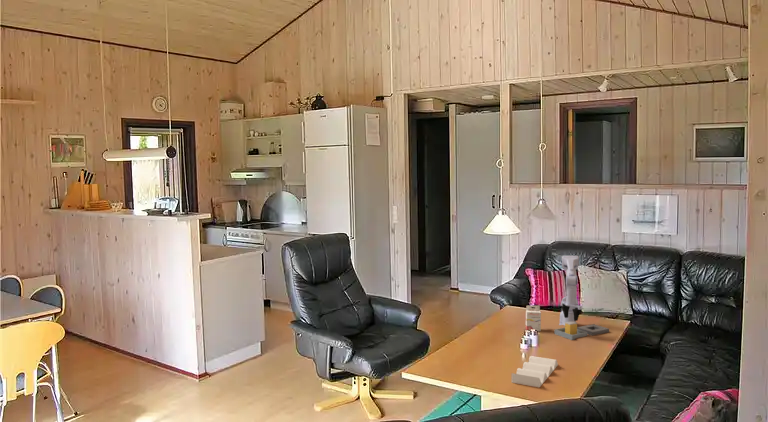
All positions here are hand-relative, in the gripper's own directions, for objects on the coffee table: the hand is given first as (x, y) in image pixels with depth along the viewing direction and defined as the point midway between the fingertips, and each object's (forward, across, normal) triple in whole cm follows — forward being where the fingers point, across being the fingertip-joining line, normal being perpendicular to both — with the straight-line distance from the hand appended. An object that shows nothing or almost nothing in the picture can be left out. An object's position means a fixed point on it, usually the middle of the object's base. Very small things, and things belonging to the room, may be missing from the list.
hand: (571, 319), depth 354 cm
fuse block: (+10, +2, +16) cm, 19 cm away
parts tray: (+10, 0, 0) cm, 10 cm away
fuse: (+9, 0, 0) cm, 9 cm away
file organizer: (+11, +38, -61) cm, 73 cm away
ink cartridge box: (+10, -20, -11) cm, 25 cm away
